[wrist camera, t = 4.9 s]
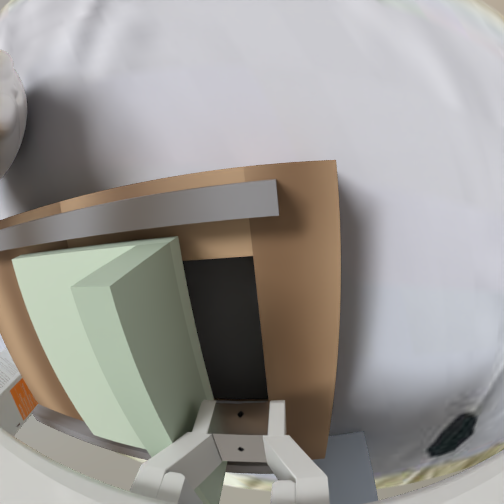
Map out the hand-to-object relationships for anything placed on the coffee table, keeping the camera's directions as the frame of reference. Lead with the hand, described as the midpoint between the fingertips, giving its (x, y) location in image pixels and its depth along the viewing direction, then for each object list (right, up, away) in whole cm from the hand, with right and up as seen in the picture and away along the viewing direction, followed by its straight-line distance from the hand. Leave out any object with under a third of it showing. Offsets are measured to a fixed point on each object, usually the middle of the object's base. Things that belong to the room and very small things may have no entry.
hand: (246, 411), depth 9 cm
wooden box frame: (-7, +1, +6) cm, 9 cm away
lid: (-6, 0, +3) cm, 7 cm away
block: (+6, -9, +8) cm, 14 cm away
